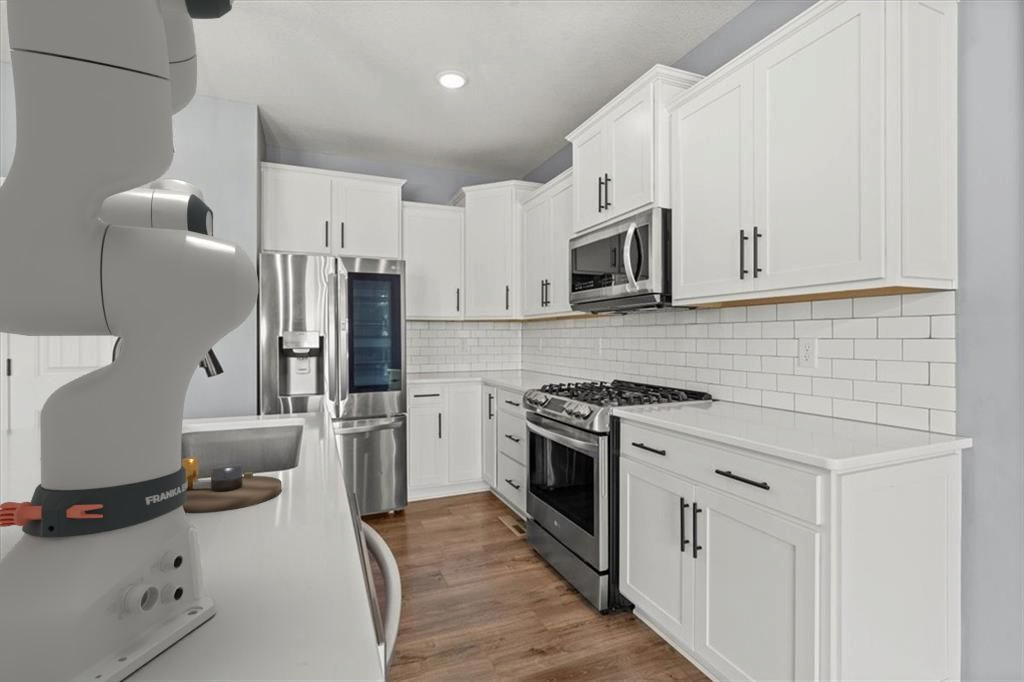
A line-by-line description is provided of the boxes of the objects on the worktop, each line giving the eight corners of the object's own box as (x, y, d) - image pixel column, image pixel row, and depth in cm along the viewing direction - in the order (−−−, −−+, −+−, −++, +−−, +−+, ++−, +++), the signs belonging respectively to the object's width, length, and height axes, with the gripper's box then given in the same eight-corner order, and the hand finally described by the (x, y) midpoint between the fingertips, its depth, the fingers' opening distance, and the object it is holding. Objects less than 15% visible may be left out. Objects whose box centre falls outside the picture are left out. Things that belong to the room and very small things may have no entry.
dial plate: (254, 511, 85) (254, 497, 85) (142, 514, 85) (142, 499, 85) (296, 482, 103) (296, 470, 103) (204, 484, 103) (204, 473, 103)
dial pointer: (247, 482, 97) (247, 454, 97) (234, 490, 92) (233, 460, 92) (191, 484, 96) (191, 455, 96) (175, 491, 91) (174, 461, 91)
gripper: (148, 273, 77) (150, 366, 78) (231, 285, 98) (232, 359, 98) (108, 273, 78) (109, 366, 78) (199, 285, 98) (200, 359, 98)
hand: (179, 362), depth 88 cm, fingers open, 8 cm apart
